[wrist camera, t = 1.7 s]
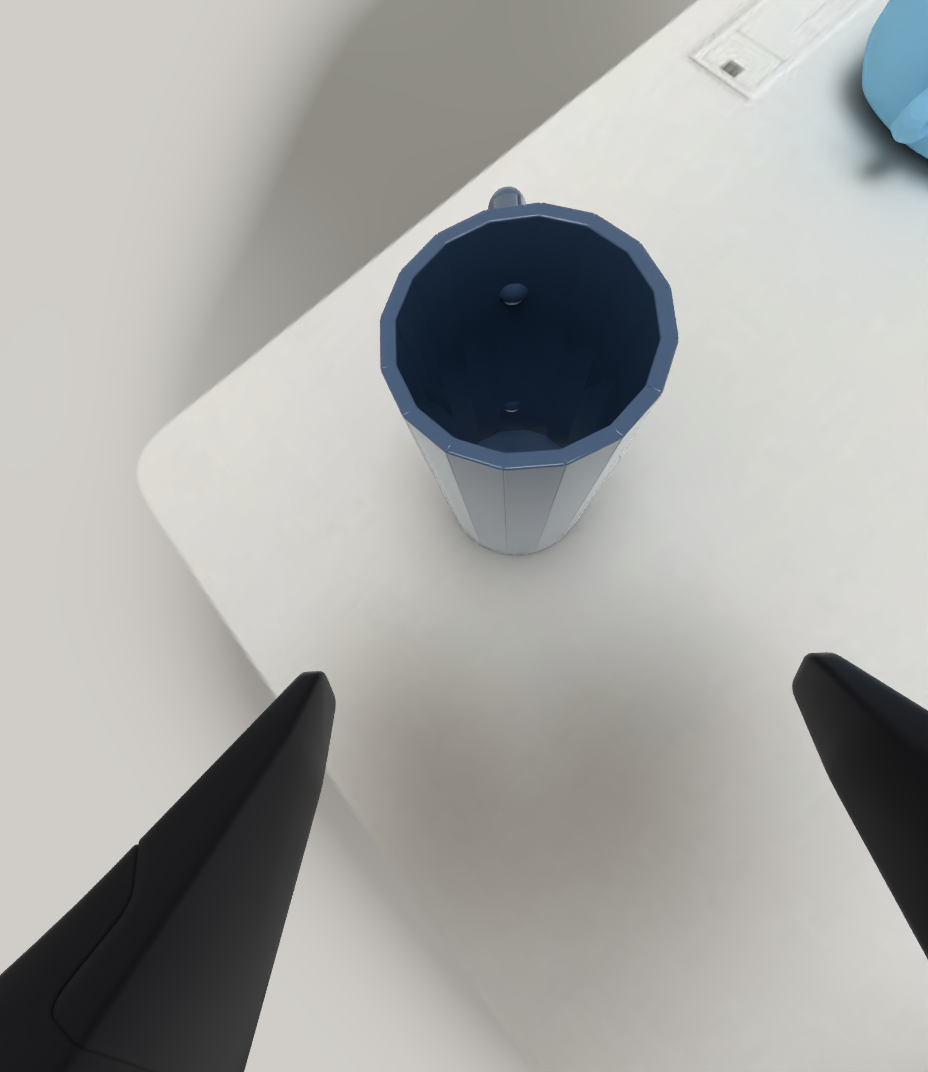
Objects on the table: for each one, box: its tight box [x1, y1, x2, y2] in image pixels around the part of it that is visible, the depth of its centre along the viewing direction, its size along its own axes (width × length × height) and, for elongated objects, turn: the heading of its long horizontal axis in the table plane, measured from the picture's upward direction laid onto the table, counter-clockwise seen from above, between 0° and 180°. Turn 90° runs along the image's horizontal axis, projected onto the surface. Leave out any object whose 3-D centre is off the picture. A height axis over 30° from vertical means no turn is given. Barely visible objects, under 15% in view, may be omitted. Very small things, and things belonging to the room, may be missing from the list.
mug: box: [380, 187, 678, 555], centre depth 17 cm, size 10×7×13 cm
